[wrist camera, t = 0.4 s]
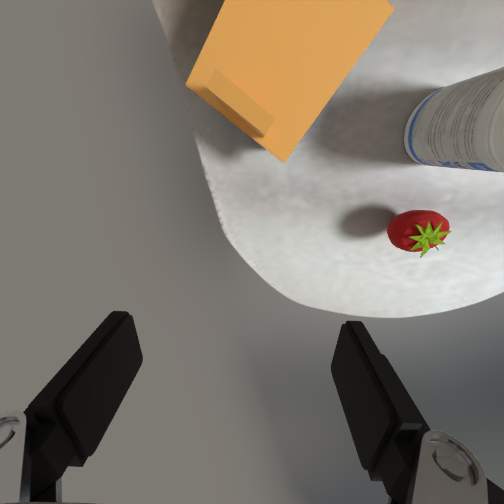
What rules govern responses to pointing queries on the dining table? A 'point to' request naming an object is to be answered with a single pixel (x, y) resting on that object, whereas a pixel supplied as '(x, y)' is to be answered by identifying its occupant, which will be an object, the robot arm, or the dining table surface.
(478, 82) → the supplement tub
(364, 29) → the lid
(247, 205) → the dining table surface
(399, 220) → the strawberry
